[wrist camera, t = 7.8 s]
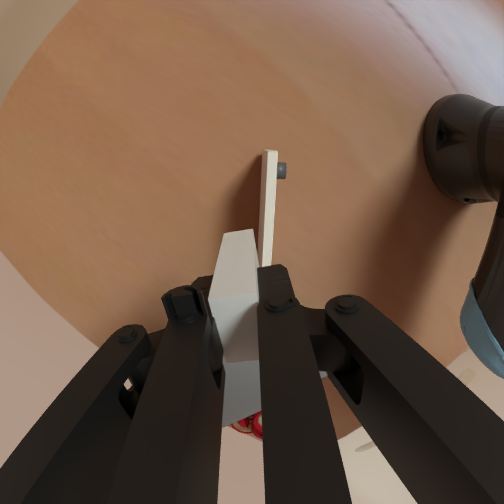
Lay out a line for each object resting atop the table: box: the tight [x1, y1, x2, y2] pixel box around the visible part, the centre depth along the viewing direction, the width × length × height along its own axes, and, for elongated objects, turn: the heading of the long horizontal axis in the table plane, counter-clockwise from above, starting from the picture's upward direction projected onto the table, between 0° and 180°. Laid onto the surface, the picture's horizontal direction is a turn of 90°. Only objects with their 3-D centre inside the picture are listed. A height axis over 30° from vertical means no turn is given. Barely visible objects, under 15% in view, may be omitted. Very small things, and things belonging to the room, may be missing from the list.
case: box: [222, 354, 327, 427], centre depth 34 cm, size 20×12×10 cm, turn 129°
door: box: [257, 149, 286, 267], centre depth 28 cm, size 14×2×8 cm, turn 178°
